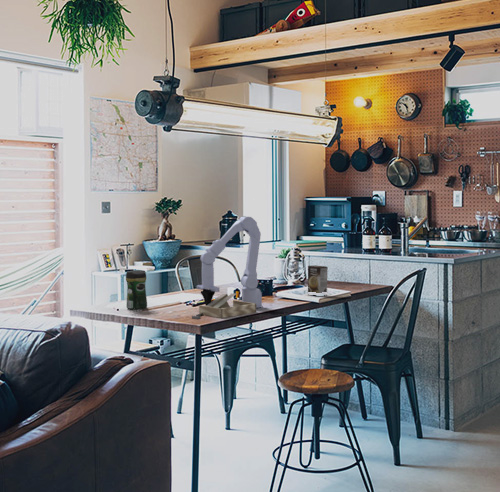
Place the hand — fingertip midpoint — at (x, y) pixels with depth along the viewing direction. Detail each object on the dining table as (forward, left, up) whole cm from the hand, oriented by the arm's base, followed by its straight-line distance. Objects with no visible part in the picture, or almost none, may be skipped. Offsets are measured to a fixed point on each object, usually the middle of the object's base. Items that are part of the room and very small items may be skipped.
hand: (208, 305), depth 328 cm
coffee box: (-72, +7, -2) cm, 72 cm away
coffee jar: (+22, -27, -2) cm, 35 cm away
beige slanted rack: (+2, +9, -2) cm, 10 cm away
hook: (+16, +13, -2) cm, 21 cm away
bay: (0, +14, -2) cm, 14 cm away
